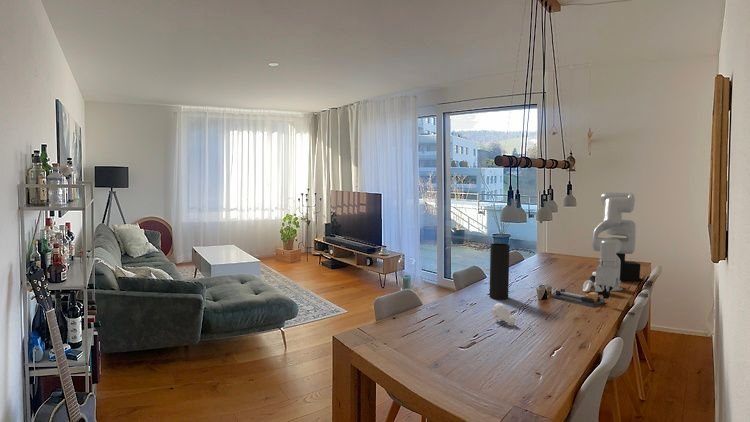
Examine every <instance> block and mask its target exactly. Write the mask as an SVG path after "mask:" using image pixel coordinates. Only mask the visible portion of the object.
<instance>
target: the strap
mask: <svg viewBox="0 0 750 422" xmlns="http://www.w3.org/2000/svg"><path fill="white" fill-rule="evenodd" d="M559 291H560V294H563V295H568V296H573V297H578V298H582V297H585V296H584V294H581V295H579V294H580V293H576V294H574V293H575V292H571V293H568V292H569V291H567V292H563V291H561V290H559Z"/></svg>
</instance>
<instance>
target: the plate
mask: <svg viewBox="0 0 750 422" xmlns="http://www.w3.org/2000/svg"><path fill="white" fill-rule="evenodd" d="M560 291H563V292H568V293H572V292H570V291H566V290H565V289H564V288H561V289H560V290H555V293H552V294H550V295H551V296H550V297H549V298H550V299H551V298H552V299H556V300H561V301H565V302H569V303H574V304H577V305H581V306H586V307H591V308H593V307H597V306H599V305H602V304H605V303H606V299H604V298H601V296H598V300H597V301H594V300H595V299H592V298H587V297H582V298H578V297H573V296H568V295H563V294H560ZM573 293H574V294H577V293H575V292H573ZM578 294H579V295H582V294H581V293H578ZM583 295H584V294H583ZM585 295H586V294H585ZM585 295H584V296H585Z"/></svg>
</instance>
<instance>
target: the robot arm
mask: <svg viewBox="0 0 750 422" xmlns="http://www.w3.org/2000/svg"><path fill="white" fill-rule="evenodd" d="M635 201H636V198H635V195H634V193H632V192H604V193H602V194H601V195H600V202H601V204H602V206H603V212H602V213H603V215H602V221H601V222H600V223H598V224H597V225H596V226H595V228H594V230H593V231H592V237H591V249H592V250H593V251H595V252H599V259H597V261H596V263H597V264H598V265H597V267H596V271H595V272H596V277H595V283H596V285H597V286H599V287H600V288H601V289H602V291H603V294H602V299H604V300H608V299H609V298H610V297H611V292H620V291H623V287H622V286H621V285H620V284H622V280H620V265H621V261H620V258H619V257H618V256H617V255H616V253H622V254H625V255H632V254H634V252H635V251H636V237H637V236H636V234H637V229H636V227H637V226H636V223H635V222H634V220H630V219H622V217H623V214H624V213H625V214H627V213H628V214H630V213H633V211H634V209H635ZM604 231H605V233H606V234H607V235H610V236H606V237H599V235H600V234H601V233H603V232H604ZM618 236H621V237H618ZM606 286H607V289H606Z"/></svg>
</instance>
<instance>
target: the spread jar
mask: <svg viewBox="0 0 750 422" xmlns="http://www.w3.org/2000/svg"><path fill="white" fill-rule="evenodd" d="M595 277H596V271H593V272H592V275H590V277H589V279H588V280H587V279H586V280H585V281H584V282H583V285H582V291H583V292H585V293H589V291H590V293H591V292H596V293H598V295H603V291H602V289H601V288H600V287H599V286H597V285H596V283H595ZM606 289H607V286H606Z"/></svg>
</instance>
